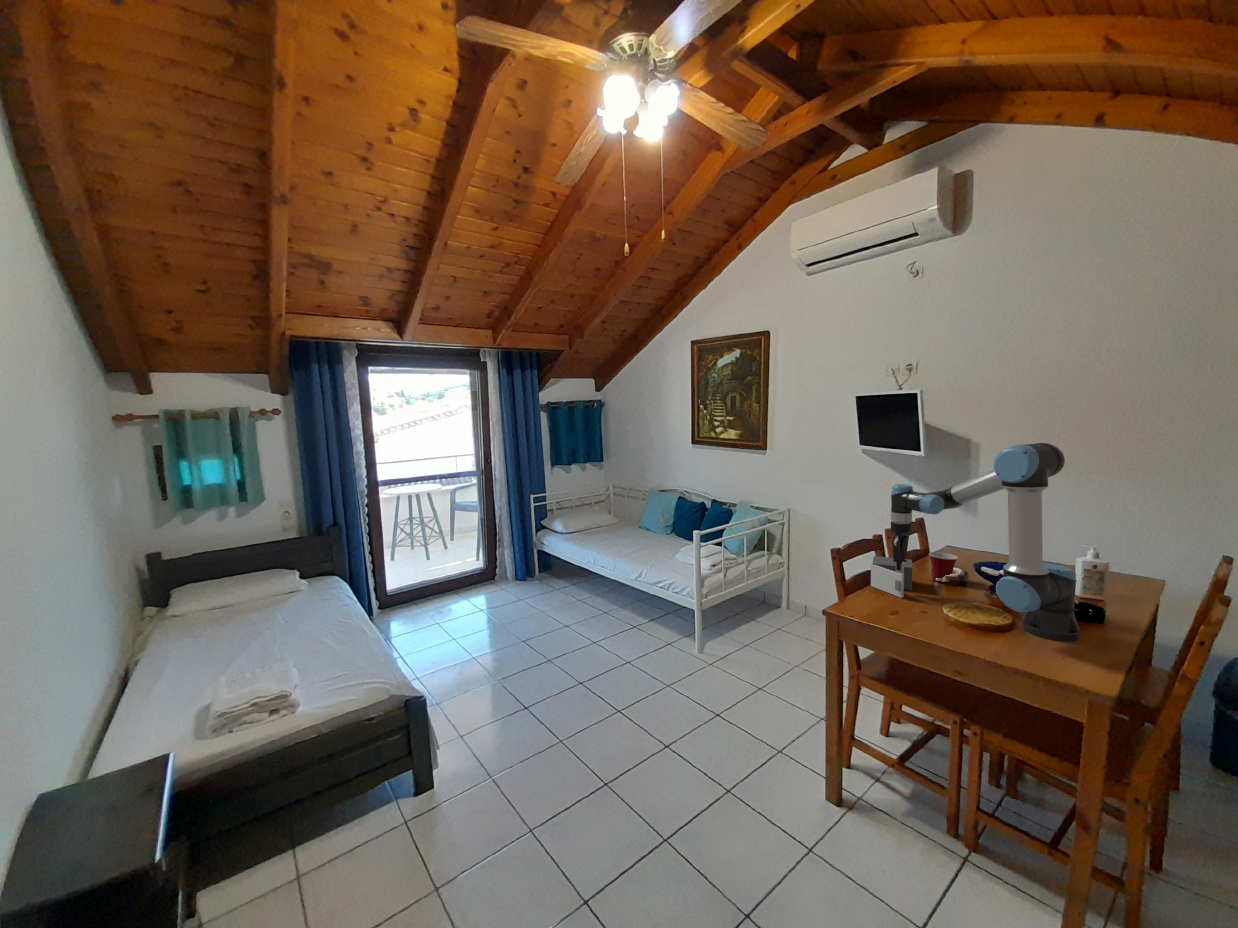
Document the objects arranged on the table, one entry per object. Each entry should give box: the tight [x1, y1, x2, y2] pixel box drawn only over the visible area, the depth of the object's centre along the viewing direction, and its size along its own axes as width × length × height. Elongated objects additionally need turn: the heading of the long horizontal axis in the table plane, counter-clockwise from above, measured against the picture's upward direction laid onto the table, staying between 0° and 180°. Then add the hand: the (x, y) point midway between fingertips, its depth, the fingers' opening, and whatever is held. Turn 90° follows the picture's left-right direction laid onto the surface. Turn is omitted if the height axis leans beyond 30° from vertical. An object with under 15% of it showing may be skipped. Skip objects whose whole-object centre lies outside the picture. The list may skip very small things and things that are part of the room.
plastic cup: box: [928, 551, 959, 579], centre depth 218 cm, size 11×11×12 cm
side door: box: [870, 563, 905, 599], centre depth 209 cm, size 2×16×10 cm, turn 21°
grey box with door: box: [871, 555, 913, 592], centre depth 218 cm, size 14×15×10 cm
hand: (899, 576), depth 207 cm, fingers closed
